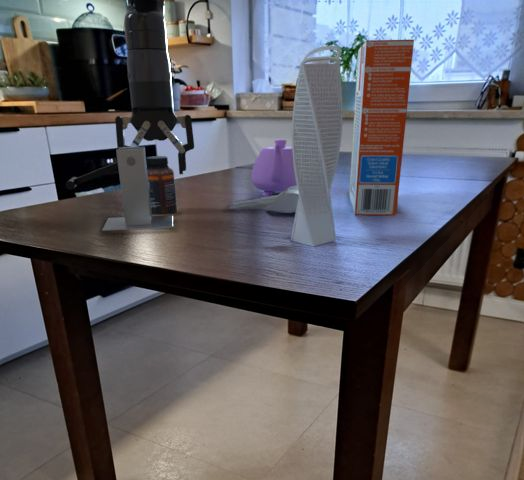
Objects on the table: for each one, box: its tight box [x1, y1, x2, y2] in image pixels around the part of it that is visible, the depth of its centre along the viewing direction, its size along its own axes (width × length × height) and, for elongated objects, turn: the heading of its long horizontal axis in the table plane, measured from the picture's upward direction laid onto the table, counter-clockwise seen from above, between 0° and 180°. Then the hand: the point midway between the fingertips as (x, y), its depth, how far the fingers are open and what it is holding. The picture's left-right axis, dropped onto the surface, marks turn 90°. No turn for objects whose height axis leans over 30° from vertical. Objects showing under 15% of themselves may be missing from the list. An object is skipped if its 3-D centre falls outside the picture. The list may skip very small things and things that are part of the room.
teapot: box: [250, 139, 297, 197], centre depth 124 cm, size 20×14×12 cm
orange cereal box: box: [348, 38, 415, 217], centre depth 106 cm, size 23×8×30 cm, turn 174°
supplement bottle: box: [146, 155, 178, 216], centre depth 101 cm, size 6×6×11 cm
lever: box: [65, 161, 119, 191], centre depth 89 cm, size 13×5×2 cm, turn 99°
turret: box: [228, 186, 299, 214], centre depth 106 cm, size 10×20×5 cm, turn 82°
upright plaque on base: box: [101, 146, 174, 232], centre depth 91 cm, size 12×10×14 cm
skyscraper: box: [290, 45, 344, 247], centre depth 79 cm, size 8×8×28 cm
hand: (159, 174), depth 100 cm, fingers open, 8 cm apart
